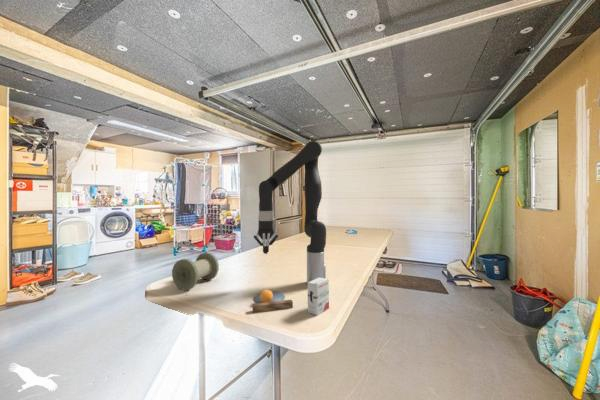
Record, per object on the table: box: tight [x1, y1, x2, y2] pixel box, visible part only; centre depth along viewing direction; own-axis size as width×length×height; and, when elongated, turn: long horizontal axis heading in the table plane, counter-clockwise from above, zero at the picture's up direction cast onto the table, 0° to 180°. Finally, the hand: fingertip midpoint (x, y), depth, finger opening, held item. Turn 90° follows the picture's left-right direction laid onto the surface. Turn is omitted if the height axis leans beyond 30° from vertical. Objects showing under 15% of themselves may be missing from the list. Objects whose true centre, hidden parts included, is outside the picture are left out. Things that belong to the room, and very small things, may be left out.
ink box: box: [307, 277, 330, 316], centre depth 89 cm, size 8×5×12 cm, turn 140°
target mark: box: [253, 290, 286, 304], centre depth 100 cm, size 14×14×1 cm
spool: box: [171, 252, 220, 291], centre depth 117 cm, size 16×15×15 cm
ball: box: [260, 289, 273, 303], centre depth 95 cm, size 6×6×6 cm
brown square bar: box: [252, 299, 294, 314], centre depth 89 cm, size 16×2×2 cm, turn 105°
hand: (265, 253), depth 114 cm, fingers closed
